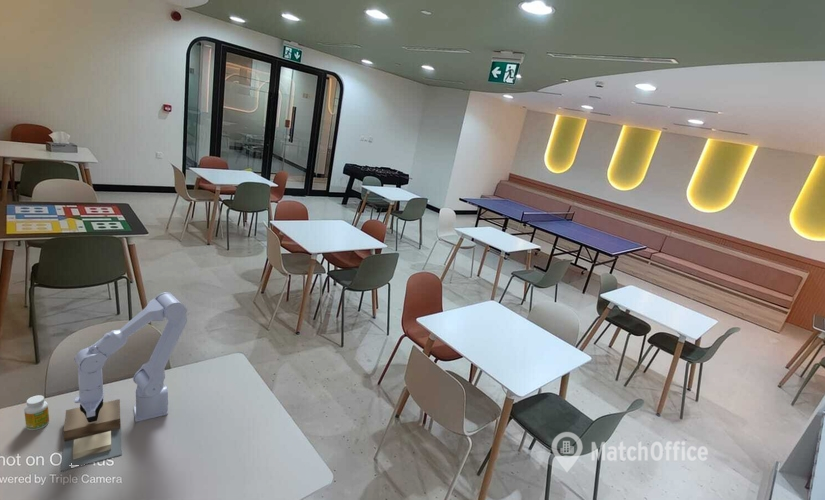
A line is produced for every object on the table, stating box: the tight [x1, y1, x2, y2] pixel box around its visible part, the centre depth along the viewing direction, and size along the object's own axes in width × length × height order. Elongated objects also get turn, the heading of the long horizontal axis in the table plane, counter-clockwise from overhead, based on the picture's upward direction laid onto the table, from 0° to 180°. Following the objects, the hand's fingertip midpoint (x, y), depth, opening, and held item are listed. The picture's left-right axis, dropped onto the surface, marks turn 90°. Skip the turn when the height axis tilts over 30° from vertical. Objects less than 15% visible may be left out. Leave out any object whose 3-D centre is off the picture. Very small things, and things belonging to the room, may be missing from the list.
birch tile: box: [73, 431, 111, 459], centre depth 121 cm, size 9×6×2 cm, turn 126°
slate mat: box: [60, 428, 122, 473], centre depth 121 cm, size 14×12×1 cm
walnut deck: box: [63, 398, 122, 443], centre depth 129 cm, size 14×10×4 cm
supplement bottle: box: [23, 394, 50, 431], centre depth 124 cm, size 5×5×10 cm
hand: (92, 420), depth 125 cm, fingers closed
